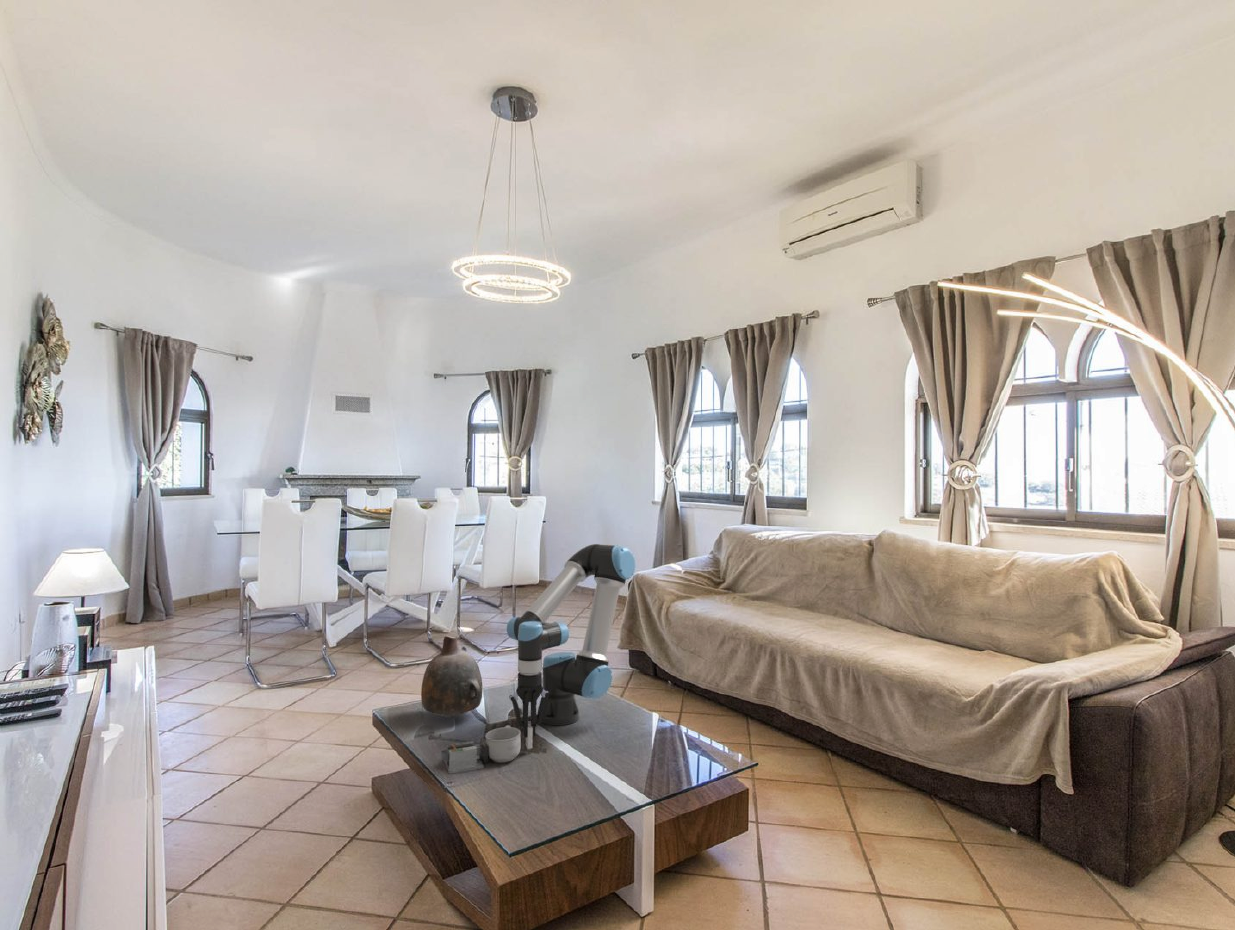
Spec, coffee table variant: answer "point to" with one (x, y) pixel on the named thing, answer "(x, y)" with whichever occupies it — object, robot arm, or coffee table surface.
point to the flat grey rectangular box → (463, 758)
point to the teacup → (503, 743)
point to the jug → (451, 682)
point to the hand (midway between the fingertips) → (529, 746)
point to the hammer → (481, 748)
